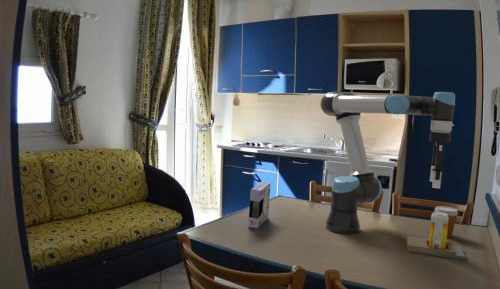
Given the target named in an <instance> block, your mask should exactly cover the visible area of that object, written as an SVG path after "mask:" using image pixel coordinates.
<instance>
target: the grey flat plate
mask: <svg viewBox="0 0 500 289" xmlns="http://www.w3.org/2000/svg"><path fill="white" fill-rule="evenodd" d="M427 245H428V246H429V244H428V243H427ZM453 246H454V249H455V251H456V255H450V254H443V253H437V252H431V251H424V250H422V253H421V254H425V255H431V256H438V257H443V258H451V259H456V260H457V259H458V260H463V261H466V255H465V253H464V250H463V249H462V247H461V246H456V245H453ZM446 249H448V248H447V246H446Z"/></svg>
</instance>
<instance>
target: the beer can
mask: <svg viewBox="0 0 500 289" xmlns="http://www.w3.org/2000/svg"><path fill="white" fill-rule="evenodd" d="M448 219H449V217H448V214H446V213H442V212H435V211H433V212H432V213H431V216H430V225H429V236H428V237H429V238H428V239H429V247H435V248H442V249H446V242H447V241H448V240H447V238H448V237H447V230H448Z"/></svg>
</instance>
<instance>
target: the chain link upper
mask: <svg viewBox="0 0 500 289" xmlns="http://www.w3.org/2000/svg"><path fill="white" fill-rule="evenodd" d="M427 243H428V244H429V238H422V237H415V236H411V235H410V236H406V249H407V252H412V253H418V254H423V253H422V250H424V251H431V252H437V253H443V254H450V255H456V251H455V249H454V246H455V245H453V242H450V241H449V242H448V241H446V246H447V248H448V249H442V248H435V247H429V246H428V245H427Z"/></svg>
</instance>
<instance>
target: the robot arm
mask: <svg viewBox="0 0 500 289" xmlns="http://www.w3.org/2000/svg"><path fill="white" fill-rule="evenodd" d="M455 102H456V94H455V93H454V92H451V91H450V92H449V91H448V92H447V91H435V92H434V94H433V96H419V95H418V96H417V95H405V94H401V93H399V94H398V93H397V94H376V95H375V94H366V95H363V94H362V95H361V94H360V95H359V94H355V93H352V92H339V91H330V92H327V93H325V94H324V95H323V96H322V98H321V100H320V108H321V111H322V112H323V113H324V114H325V115H328V116H330V117H335V120H336V123H337V124H338V125H340V128H341V132H342V137H343V141H344V146H345V151H346V155H347V161H348V164H349V168H350V174H349V175H341V176H337V177H335V178H334V179H333V180H332V185H331V197H330V198H331V199H330V211H329V214H328V216H327V219H326V221H325V228H326V229H327V230H329V231H331V232H335V233H338V234H339V233H340V234H357V233H359V232H360V231H361V224H360V220H359V216H358V205H360V204H361V205H362V204H369V203H372V202H375V201H377V200H378V199H379V198H380V196H381V195H382V192H383V186H382V183H381V181H380V179H378V178H377V177H375V174H374V171H373V170H371V169H370V167H369V162H368V158H367V152H366V149H365V144H364V140H363V136H362V130H361V126H360V122H359V121H360V119H361V118H362V117H361V114H362V113H363V114H384V115H385V114H387V115H389V114H390V115H410V116H411V115H414V116H429V117H431V120H430V132H429V138H428V140H429V141H430V142H434V143H433V146H432V158H431V162H430V163H431V167H430V176H429V182H432V185H431V186H432V187H431V188H432V189H433V188H434V189H441V183H442V174H443V171H444V156H445V150H446V147H445V145H444V143H445V144H446V143H447V144H448V143H450V142H451V139H452V133H451V132H452V131H453V130H452V129H453V128H452V127H454V126H455V125H454V123H453V121H454V111H455V107H456V103H455Z"/></svg>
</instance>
